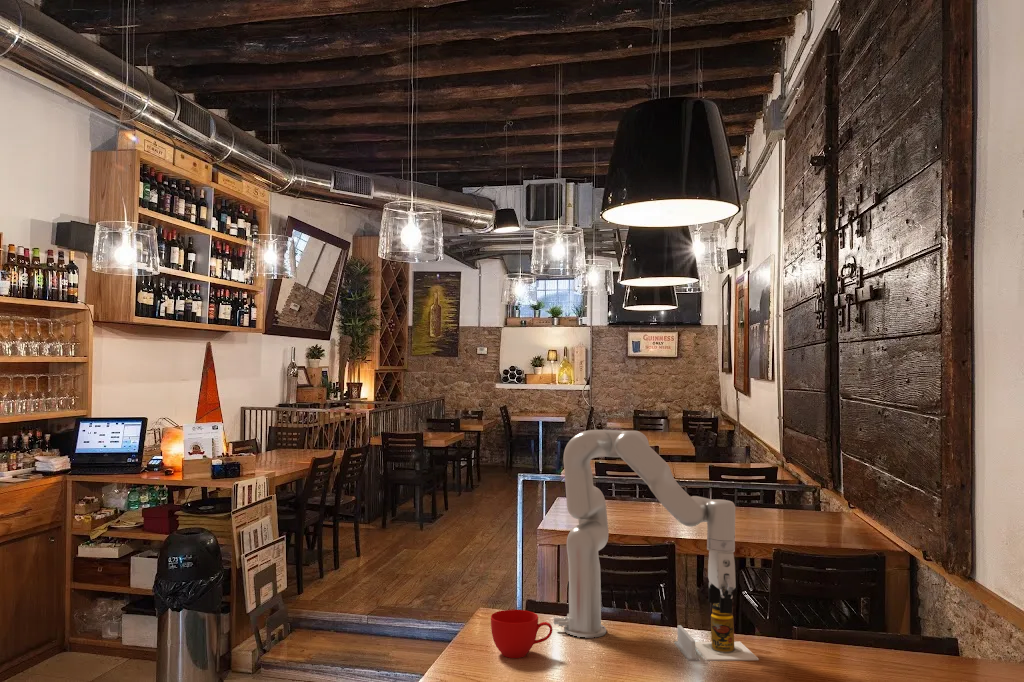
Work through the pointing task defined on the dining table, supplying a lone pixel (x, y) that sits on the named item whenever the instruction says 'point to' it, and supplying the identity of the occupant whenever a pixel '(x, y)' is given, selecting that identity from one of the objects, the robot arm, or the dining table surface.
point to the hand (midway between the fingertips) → (719, 607)
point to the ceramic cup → (516, 632)
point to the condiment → (721, 632)
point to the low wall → (686, 644)
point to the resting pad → (713, 656)
